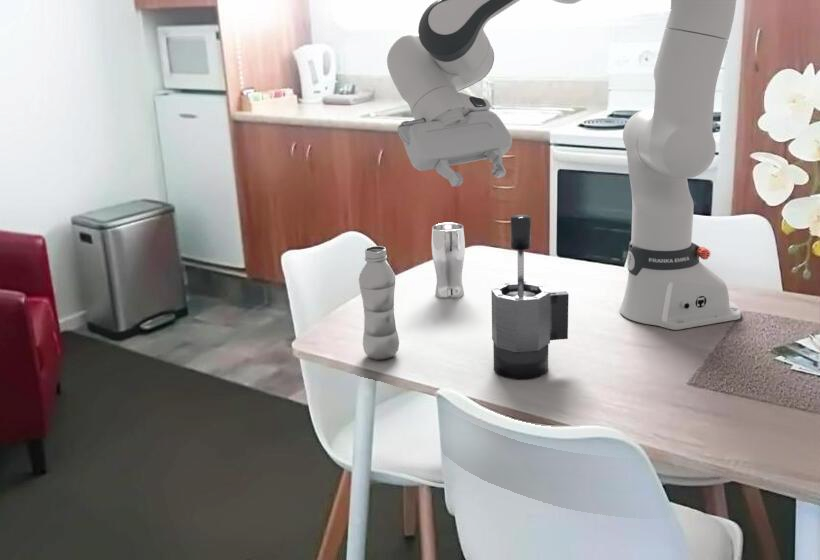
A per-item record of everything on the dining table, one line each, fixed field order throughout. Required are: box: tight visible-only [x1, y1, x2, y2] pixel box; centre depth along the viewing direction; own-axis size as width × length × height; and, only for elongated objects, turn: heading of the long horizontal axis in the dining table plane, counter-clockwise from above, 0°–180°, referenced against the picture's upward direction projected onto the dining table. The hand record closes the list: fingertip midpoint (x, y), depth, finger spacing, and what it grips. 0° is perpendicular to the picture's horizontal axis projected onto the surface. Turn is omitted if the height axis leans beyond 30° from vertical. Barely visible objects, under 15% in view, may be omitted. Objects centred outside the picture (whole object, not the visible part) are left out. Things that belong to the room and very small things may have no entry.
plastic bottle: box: [358, 245, 400, 360], centre depth 150 cm, size 6×7×20 cm
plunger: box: [506, 214, 536, 298], centre depth 139 cm, size 5×5×14 cm
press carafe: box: [491, 280, 569, 381], centre depth 143 cm, size 12×9×14 cm
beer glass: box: [431, 222, 466, 300], centre depth 180 cm, size 7×7×15 cm
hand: (480, 179), depth 143 cm, fingers open, 8 cm apart
